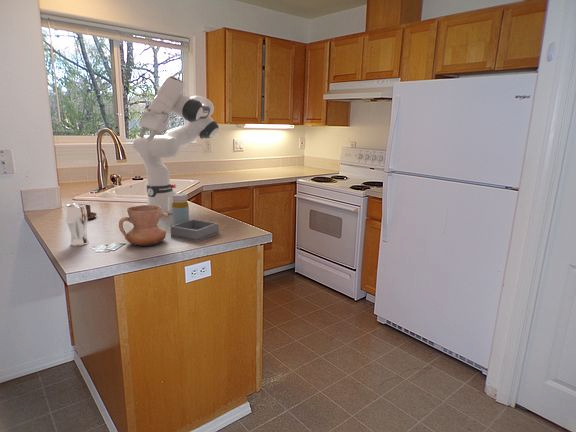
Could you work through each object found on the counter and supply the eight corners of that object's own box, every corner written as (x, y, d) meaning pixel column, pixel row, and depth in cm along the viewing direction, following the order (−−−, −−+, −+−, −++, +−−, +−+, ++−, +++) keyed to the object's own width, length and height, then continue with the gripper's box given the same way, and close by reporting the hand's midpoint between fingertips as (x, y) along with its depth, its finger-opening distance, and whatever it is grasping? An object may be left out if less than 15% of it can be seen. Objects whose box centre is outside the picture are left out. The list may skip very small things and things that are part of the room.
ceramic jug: (164, 235, 160) (162, 202, 156) (173, 245, 148) (171, 209, 144) (118, 241, 151) (114, 206, 148) (123, 252, 139) (119, 214, 135)
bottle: (183, 224, 177) (181, 192, 173) (192, 227, 172) (191, 194, 169) (170, 227, 171) (168, 194, 168) (179, 230, 167) (177, 196, 163)
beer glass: (66, 244, 147) (61, 205, 143) (84, 239, 152) (79, 202, 149) (75, 247, 143) (71, 208, 139) (93, 242, 148) (89, 205, 145)
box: (193, 229, 170) (193, 219, 169) (218, 233, 164) (217, 223, 163) (171, 236, 158) (170, 226, 157) (196, 241, 152) (196, 230, 151)
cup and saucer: (66, 218, 185) (64, 205, 184) (93, 214, 192) (91, 202, 191) (71, 223, 176) (70, 210, 175) (99, 219, 184) (98, 206, 182)
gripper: (175, 117, 160) (160, 146, 160) (156, 112, 175) (142, 139, 174) (163, 108, 156) (147, 138, 155) (144, 104, 171) (129, 132, 170)
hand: (144, 139), depth 165 cm, fingers open, 8 cm apart
